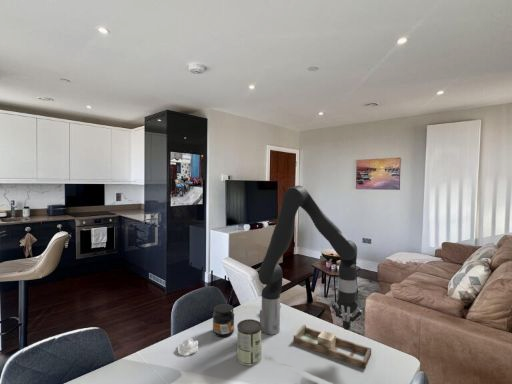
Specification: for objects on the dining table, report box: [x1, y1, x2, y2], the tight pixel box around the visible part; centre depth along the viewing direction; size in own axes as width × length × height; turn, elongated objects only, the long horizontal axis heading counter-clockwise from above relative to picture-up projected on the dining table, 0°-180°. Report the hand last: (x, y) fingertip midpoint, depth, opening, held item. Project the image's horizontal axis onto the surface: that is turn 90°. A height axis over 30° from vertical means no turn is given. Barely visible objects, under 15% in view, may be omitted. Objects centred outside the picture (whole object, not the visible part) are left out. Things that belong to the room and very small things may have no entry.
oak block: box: [318, 330, 337, 350], centre depth 122 cm, size 6×6×5 cm
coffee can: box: [236, 318, 262, 367], centre depth 116 cm, size 10×10×14 cm
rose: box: [177, 337, 199, 357], centre depth 121 cm, size 10×4×10 cm
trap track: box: [292, 324, 372, 370], centre depth 121 cm, size 31×11×5 cm, turn 56°
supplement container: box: [212, 303, 235, 338], centre depth 136 cm, size 10×10×12 cm
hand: (346, 328), depth 117 cm, fingers closed
